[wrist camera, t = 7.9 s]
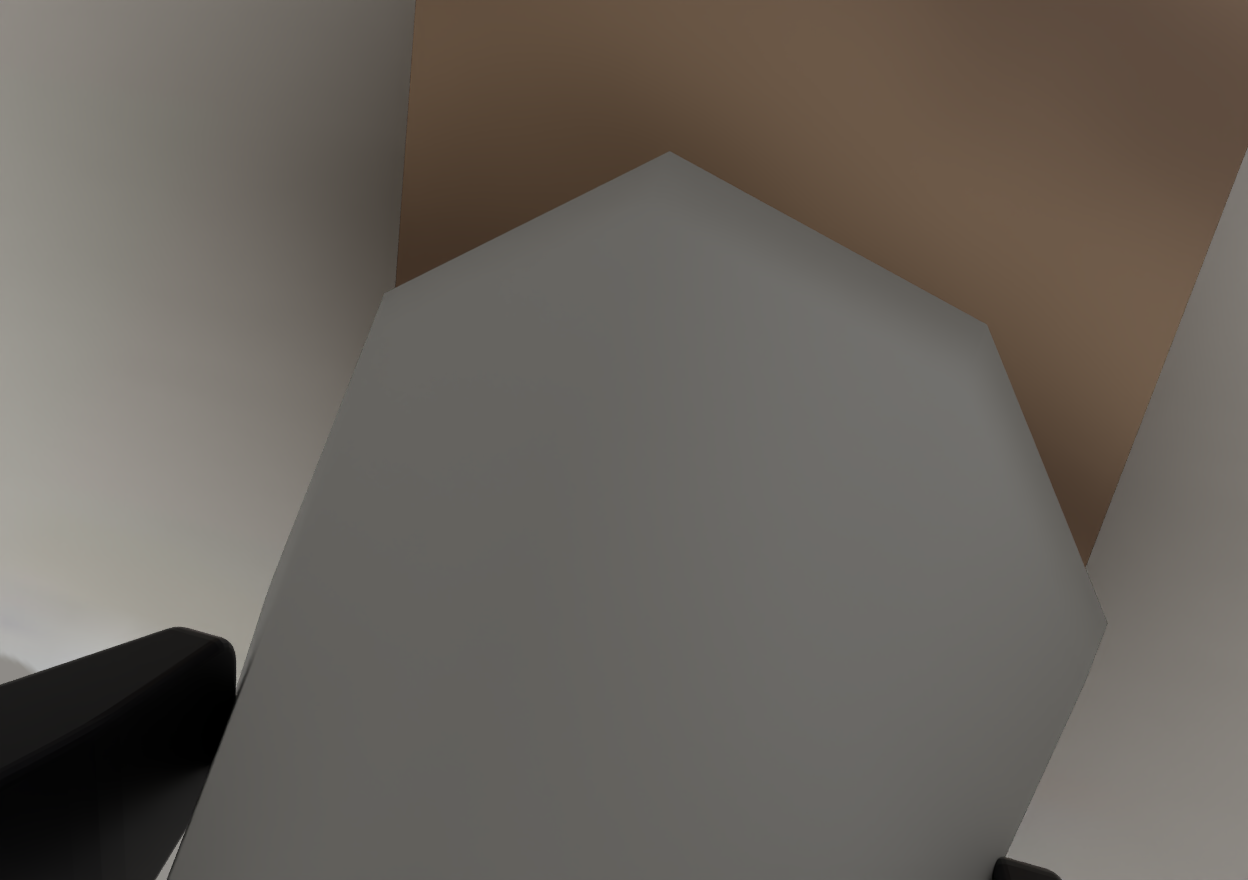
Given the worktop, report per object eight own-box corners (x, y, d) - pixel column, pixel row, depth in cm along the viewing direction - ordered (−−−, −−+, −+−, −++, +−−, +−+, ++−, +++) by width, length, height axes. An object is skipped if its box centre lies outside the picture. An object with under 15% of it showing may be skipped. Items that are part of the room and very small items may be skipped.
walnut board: (951, 859, 21) (954, 905, 20) (387, 701, 23) (363, 735, 22) (1334, -164, 14) (1373, -179, 13) (468, -287, 16) (437, -308, 15)
